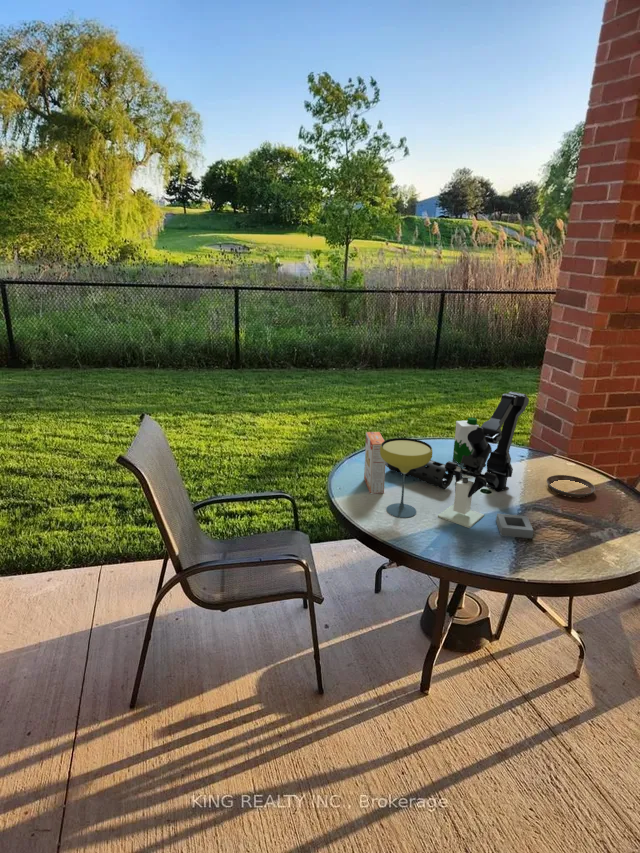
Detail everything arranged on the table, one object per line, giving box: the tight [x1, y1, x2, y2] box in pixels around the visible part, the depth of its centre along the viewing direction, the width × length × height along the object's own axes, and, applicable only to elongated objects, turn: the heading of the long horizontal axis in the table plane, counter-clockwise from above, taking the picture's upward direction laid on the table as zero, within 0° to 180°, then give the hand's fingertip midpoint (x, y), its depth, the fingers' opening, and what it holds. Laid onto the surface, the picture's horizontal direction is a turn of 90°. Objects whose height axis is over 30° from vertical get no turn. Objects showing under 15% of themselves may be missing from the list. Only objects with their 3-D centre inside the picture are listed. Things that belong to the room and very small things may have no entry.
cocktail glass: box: [380, 437, 433, 519], centre depth 185 cm, size 18×18×25 cm
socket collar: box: [495, 512, 534, 539], centre depth 177 cm, size 10×10×3 cm
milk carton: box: [452, 416, 480, 465], centre depth 233 cm, size 9×9×20 cm
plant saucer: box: [546, 474, 596, 498], centre depth 209 cm, size 18×18×3 cm
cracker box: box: [363, 431, 386, 494], centre depth 205 cm, size 14×6×21 cm, turn 5°
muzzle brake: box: [385, 459, 455, 490], centre depth 214 cm, size 10×28×10 cm, turn 47°
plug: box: [453, 476, 474, 515], centre depth 183 cm, size 4×4×12 cm
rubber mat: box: [437, 503, 485, 529], centre depth 186 cm, size 12×12×1 cm
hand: (462, 495), depth 182 cm, fingers closed on plug, 4 cm apart
